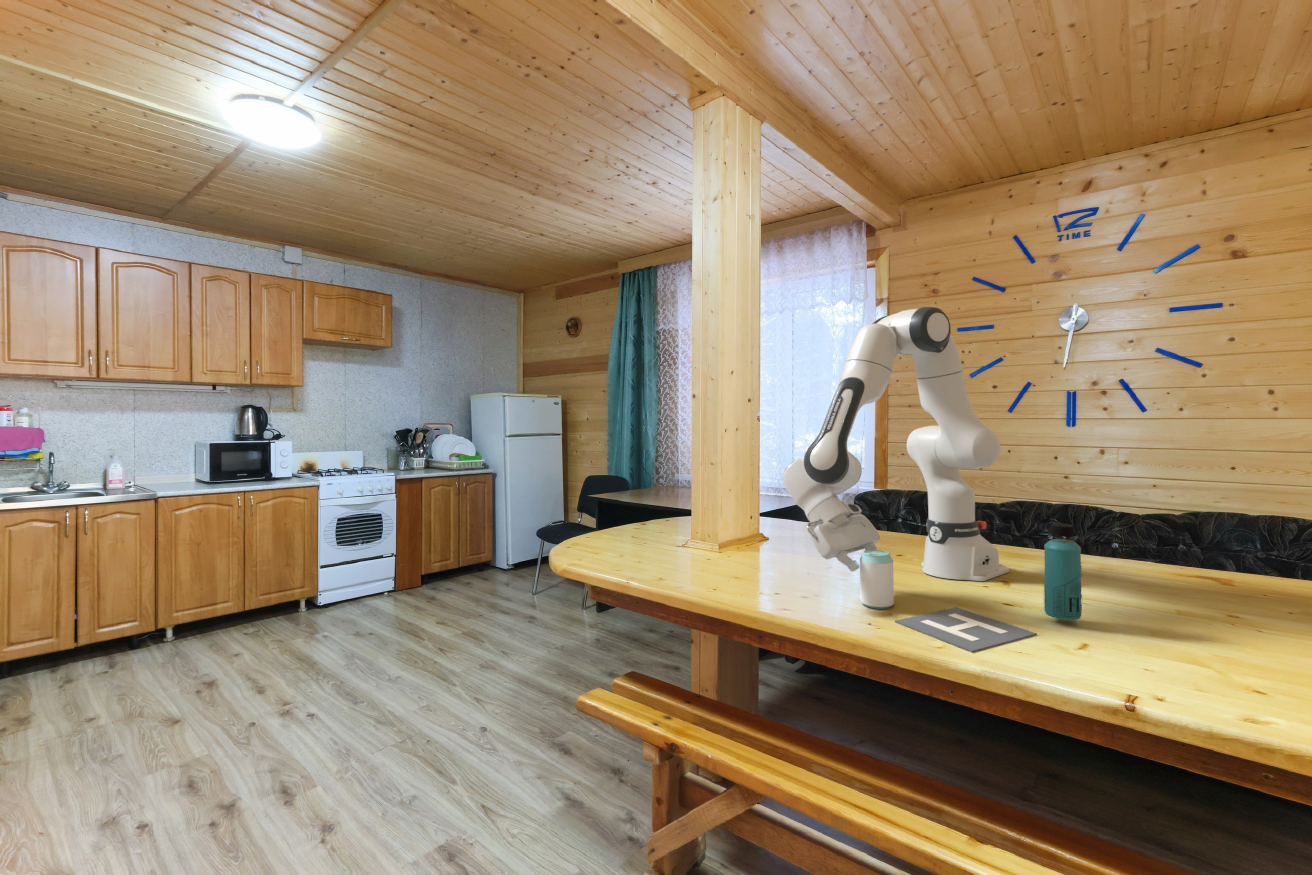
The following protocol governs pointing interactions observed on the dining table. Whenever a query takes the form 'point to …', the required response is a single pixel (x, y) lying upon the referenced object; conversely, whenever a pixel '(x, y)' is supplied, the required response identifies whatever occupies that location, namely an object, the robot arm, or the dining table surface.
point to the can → (876, 579)
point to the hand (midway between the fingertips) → (867, 565)
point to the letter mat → (965, 629)
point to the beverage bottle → (1062, 575)
